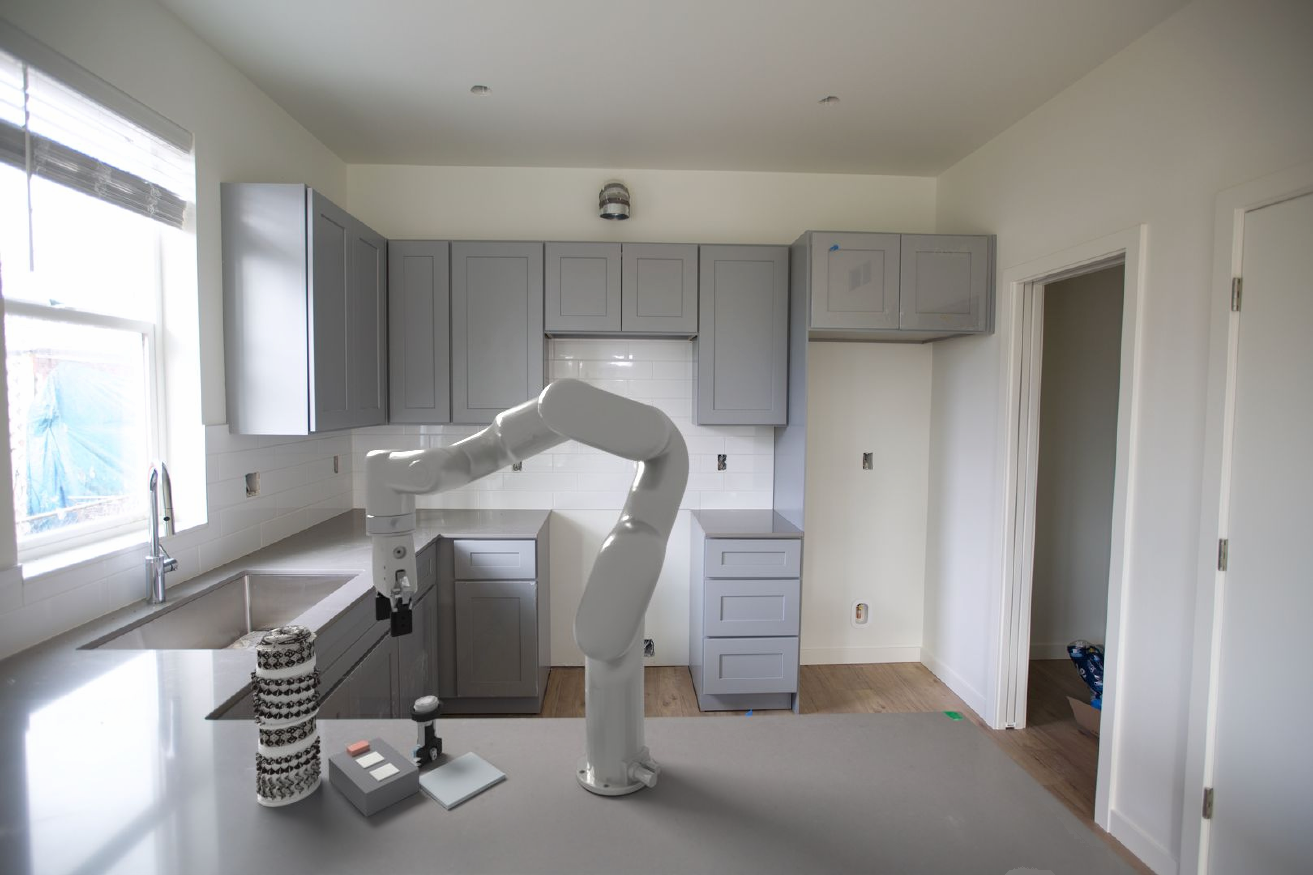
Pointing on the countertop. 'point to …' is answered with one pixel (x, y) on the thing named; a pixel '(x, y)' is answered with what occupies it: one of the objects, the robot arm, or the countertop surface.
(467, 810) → the countertop surface
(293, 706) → the decorative candle
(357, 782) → the power strip
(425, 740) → the push button
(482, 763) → the pale blue mat
